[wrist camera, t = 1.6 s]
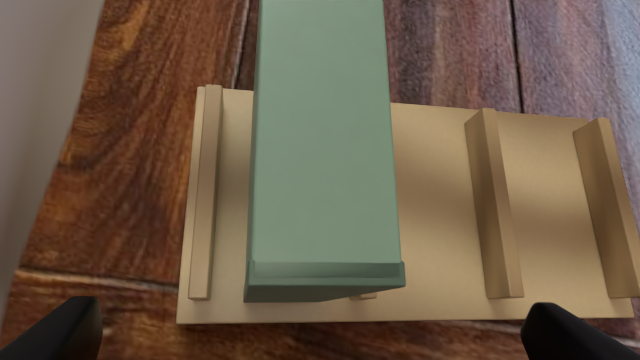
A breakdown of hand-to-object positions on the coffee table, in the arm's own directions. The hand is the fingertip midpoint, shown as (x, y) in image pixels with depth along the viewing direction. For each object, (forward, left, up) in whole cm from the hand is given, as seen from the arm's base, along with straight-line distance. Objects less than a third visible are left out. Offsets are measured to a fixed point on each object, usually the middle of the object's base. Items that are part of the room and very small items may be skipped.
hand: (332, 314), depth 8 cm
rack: (+6, -7, -12) cm, 15 cm away
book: (+6, 0, -11) cm, 13 cm away
